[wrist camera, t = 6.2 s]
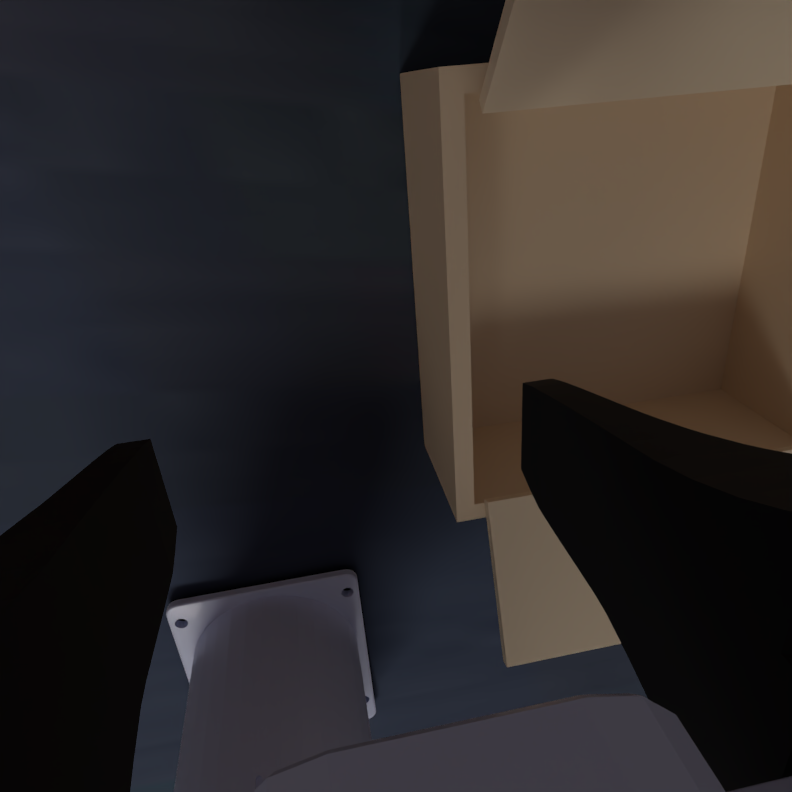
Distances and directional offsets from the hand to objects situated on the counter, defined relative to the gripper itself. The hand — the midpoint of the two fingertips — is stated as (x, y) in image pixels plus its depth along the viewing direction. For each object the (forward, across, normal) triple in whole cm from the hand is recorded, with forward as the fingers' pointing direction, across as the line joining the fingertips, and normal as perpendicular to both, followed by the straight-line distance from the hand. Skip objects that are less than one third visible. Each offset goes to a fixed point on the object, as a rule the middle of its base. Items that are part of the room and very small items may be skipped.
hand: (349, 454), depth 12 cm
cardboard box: (+10, -10, 0) cm, 14 cm away
